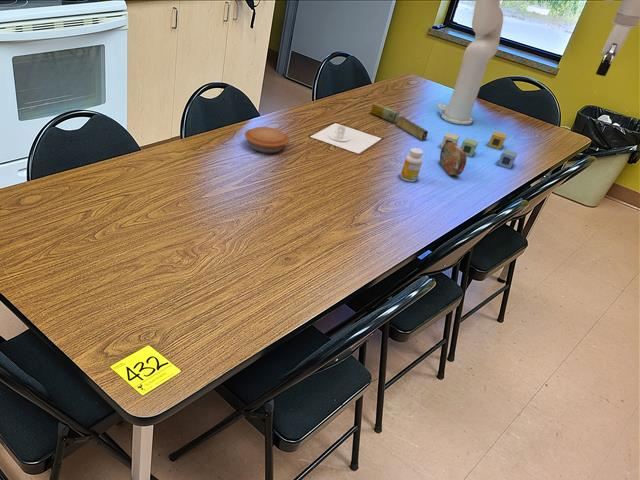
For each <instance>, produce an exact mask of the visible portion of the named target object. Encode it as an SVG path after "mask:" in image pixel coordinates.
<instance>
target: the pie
mask: <svg viewBox="0 0 640 480" xmlns="http://www.w3.org/2000/svg"><path fill="white" fill-rule="evenodd" d="M244 137H245V139H246V141H247V143H248V145H249V147H250V148H251V149H252V150H254V151H257V152H259V153H264V154H275V153H278V152H280V151H282V149H284V147H285V146H286V145H288V143H289V142H290V137H289V136H288V134H286V133H285V132H283V131H282V130H280V129H277V128H274V127H269V126H256V127H253V128H249V129H247V130H246V131H245V132H244Z"/></svg>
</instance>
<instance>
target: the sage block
mask: <svg viewBox="0 0 640 480" xmlns="http://www.w3.org/2000/svg"><path fill="white" fill-rule="evenodd" d="M478 144H479V140H475V139H472V138H468V137H465V139H463V141H462V143H461V146H460V148H461V149H462V150H463V151H464V152H465V154H466V157H470V158H472V157H473V156H474V155H475V153H476V150H477V147H478Z"/></svg>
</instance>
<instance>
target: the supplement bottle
mask: <svg viewBox="0 0 640 480" xmlns="http://www.w3.org/2000/svg"><path fill="white" fill-rule="evenodd" d="M423 153H424V151H423V149H421V148H416V147H413V148H410V150H409V154H407V155H406V156H405V159H404V162H403V166H402V169H401V173H400V178H401V179H402V180H404V181H405V182H411V183H412V182H416V181H417V180H418V177H419V174H420V170H421V168H422V164H423Z"/></svg>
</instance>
